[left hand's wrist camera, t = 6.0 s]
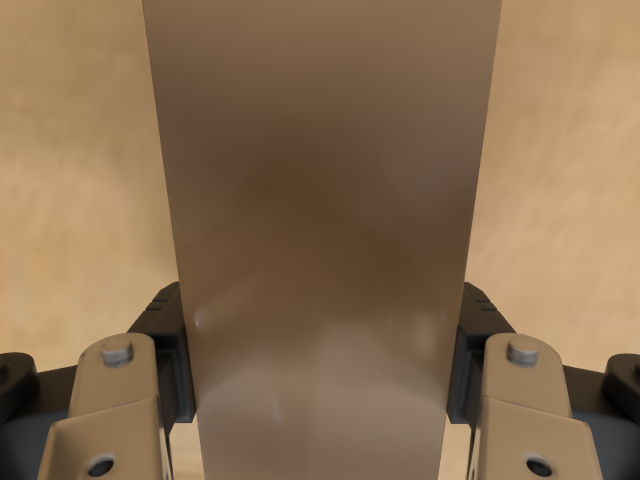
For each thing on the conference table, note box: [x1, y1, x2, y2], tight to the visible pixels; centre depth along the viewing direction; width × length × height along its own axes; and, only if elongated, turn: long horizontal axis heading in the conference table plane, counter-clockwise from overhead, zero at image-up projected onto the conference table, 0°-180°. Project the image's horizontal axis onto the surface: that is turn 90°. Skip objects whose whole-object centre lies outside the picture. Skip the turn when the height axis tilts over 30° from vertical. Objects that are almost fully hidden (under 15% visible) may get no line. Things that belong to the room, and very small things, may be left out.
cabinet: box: [142, 0, 502, 480], centre depth 11 cm, size 19×6×9 cm, turn 0°
